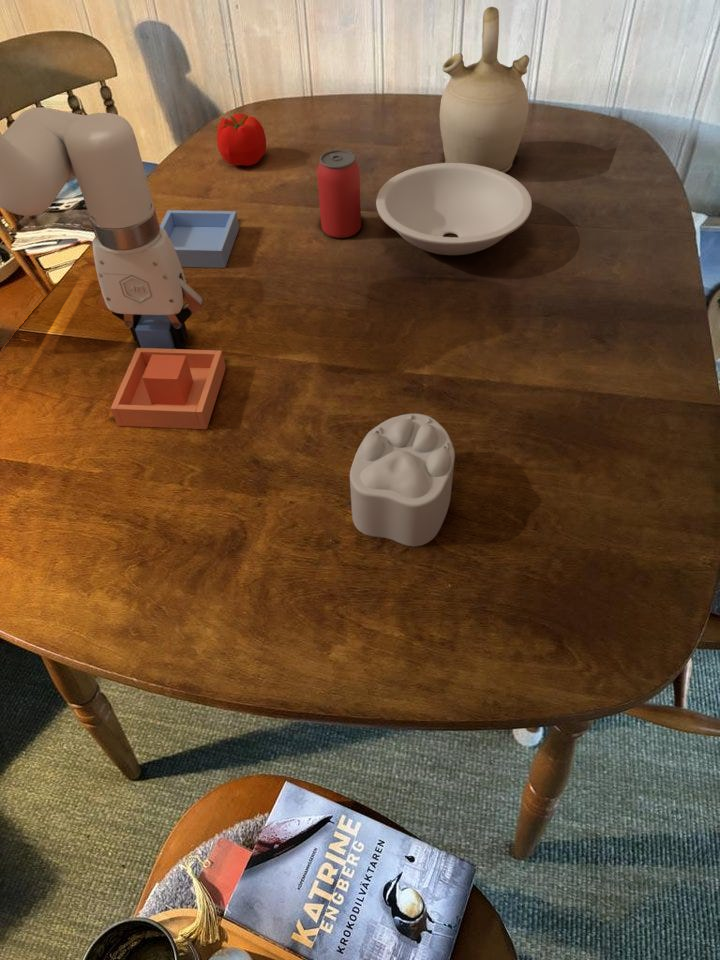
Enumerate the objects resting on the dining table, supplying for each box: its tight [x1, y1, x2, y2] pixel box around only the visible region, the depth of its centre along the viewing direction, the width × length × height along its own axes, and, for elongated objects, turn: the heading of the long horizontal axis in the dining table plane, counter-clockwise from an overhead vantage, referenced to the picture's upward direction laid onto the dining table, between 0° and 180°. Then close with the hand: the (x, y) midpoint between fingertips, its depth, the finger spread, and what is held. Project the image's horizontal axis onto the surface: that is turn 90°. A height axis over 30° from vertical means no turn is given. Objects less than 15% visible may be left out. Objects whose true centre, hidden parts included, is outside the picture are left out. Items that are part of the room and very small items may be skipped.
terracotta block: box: [143, 354, 193, 405], centre depth 92 cm, size 4×4×4 cm
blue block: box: [135, 315, 175, 349], centre depth 99 cm, size 4×4×4 cm
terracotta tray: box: [110, 347, 227, 430], centre depth 93 cm, size 12×12×3 cm
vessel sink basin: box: [375, 162, 533, 256], centre depth 114 cm, size 24×24×7 cm
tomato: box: [216, 113, 267, 167], centre depth 132 cm, size 9×9×8 cm
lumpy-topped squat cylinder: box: [349, 413, 456, 547], centre depth 79 cm, size 10×13×9 cm
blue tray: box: [159, 209, 240, 269], centre depth 116 cm, size 12×12×3 cm
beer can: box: [316, 149, 362, 239], centre depth 114 cm, size 7×7×12 cm
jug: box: [439, 6, 530, 174], centre depth 122 cm, size 15×16×25 cm
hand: (163, 343), depth 101 cm, fingers closed on blue block, 4 cm apart
